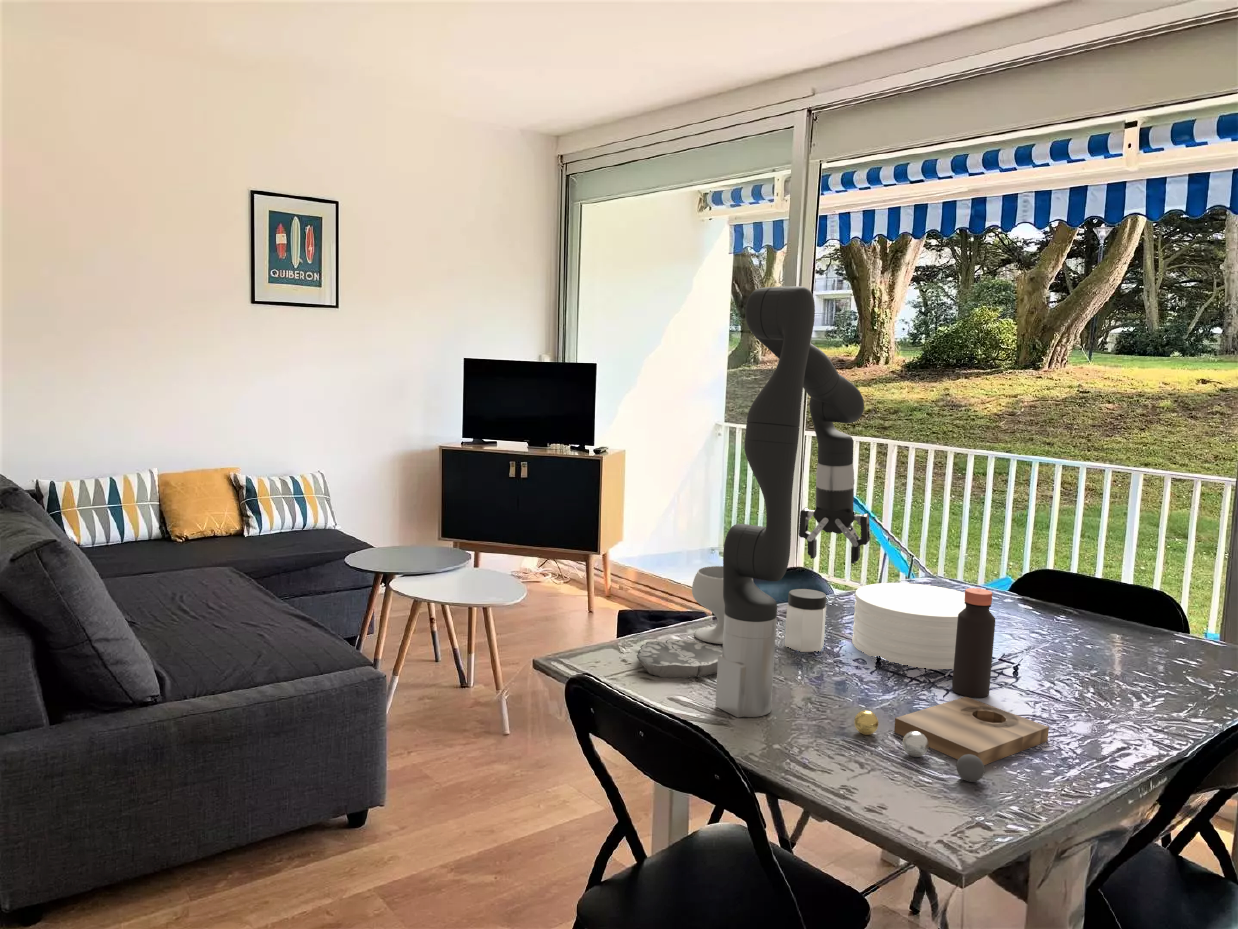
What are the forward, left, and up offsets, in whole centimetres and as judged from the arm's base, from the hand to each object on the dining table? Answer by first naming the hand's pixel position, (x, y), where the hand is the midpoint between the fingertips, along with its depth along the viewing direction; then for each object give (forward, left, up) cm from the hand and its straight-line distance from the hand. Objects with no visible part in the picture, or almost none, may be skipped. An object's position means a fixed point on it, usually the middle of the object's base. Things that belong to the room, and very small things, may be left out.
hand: (833, 560), depth 192 cm
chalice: (-10, +23, -22) cm, 33 cm away
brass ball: (-24, -30, -20) cm, 43 cm away
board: (-9, -40, -22) cm, 46 cm away
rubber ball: (-24, -50, -20) cm, 59 cm away
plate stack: (+24, -4, -22) cm, 33 cm away
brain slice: (-30, +13, -22) cm, 39 cm away
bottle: (+10, -27, -22) cm, 36 cm away
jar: (+2, +9, -22) cm, 24 cm away
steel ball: (-24, -40, -20) cm, 50 cm away
